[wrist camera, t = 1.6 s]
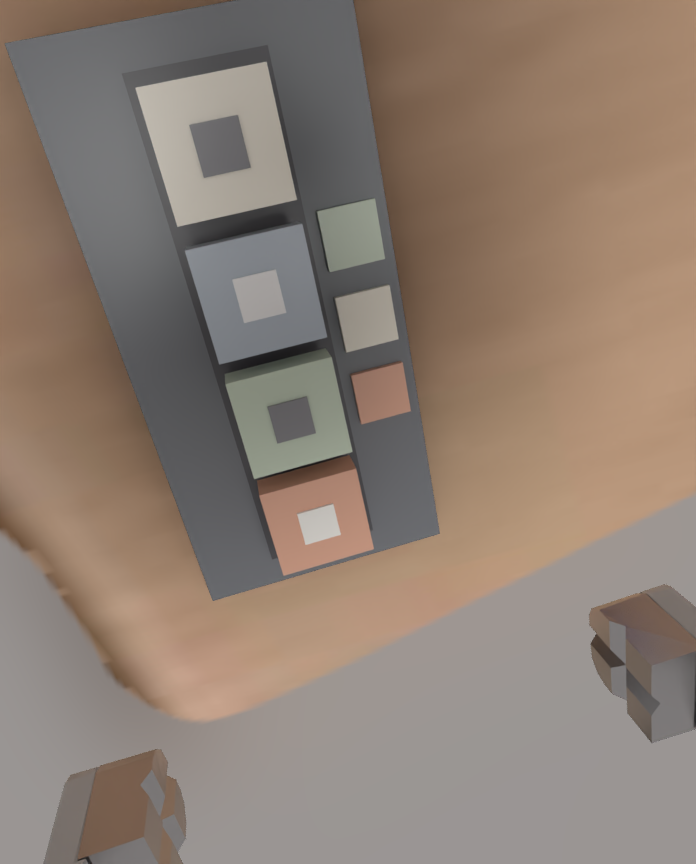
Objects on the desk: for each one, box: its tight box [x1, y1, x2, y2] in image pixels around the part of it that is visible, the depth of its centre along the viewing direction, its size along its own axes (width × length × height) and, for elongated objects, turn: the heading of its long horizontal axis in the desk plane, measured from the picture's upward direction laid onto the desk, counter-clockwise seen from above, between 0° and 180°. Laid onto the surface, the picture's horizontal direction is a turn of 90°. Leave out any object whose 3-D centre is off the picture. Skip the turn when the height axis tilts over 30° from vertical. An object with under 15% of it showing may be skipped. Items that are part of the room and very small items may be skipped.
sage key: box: [225, 348, 352, 479], centre depth 24 cm, size 4×4×2 cm
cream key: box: [135, 62, 297, 227], centre depth 20 cm, size 4×4×2 cm
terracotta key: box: [257, 455, 374, 576], centre depth 26 cm, size 4×4×2 cm
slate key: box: [185, 222, 327, 365], centre depth 22 cm, size 4×4×2 cm
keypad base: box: [5, 0, 440, 601], centre depth 26 cm, size 24×12×2 cm, turn 12°
